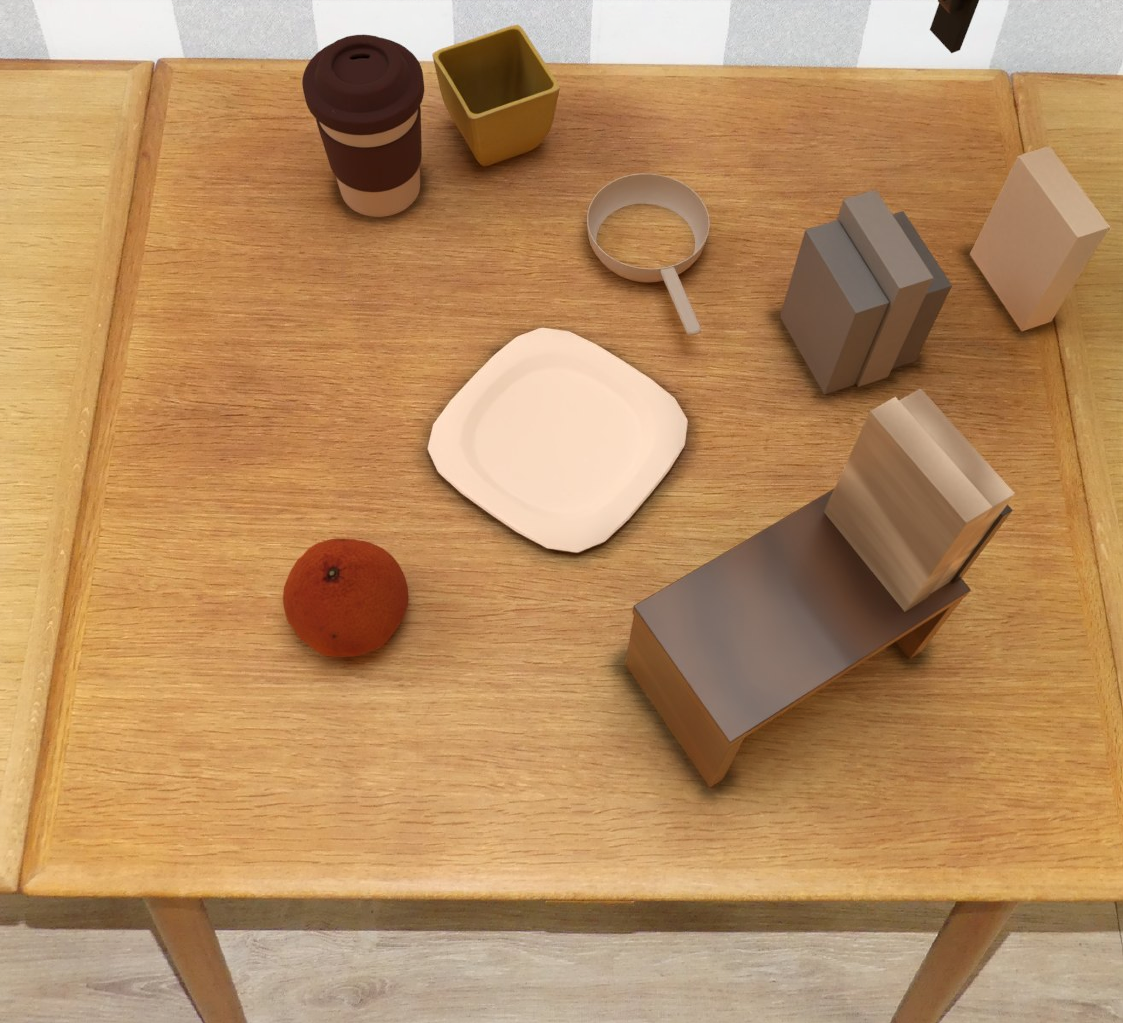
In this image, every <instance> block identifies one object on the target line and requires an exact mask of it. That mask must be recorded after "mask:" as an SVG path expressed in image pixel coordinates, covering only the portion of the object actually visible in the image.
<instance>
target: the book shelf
mask: <svg viewBox="0 0 1123 1023" xmlns="http://www.w3.org/2000/svg"><path fill="white" fill-rule="evenodd" d="M1015 495H1016V493H1015V492H1014V491H1013V489H1012V488H1011V487H1010V486H1009V485H1008V483H1006V482H1005V480H1004V479H1003V478H1002V477H1001V476H1000V475H999V474H998V472H997V471H996V470H995V469H994V468H993V467H992V466H991V465H990V464H989V462H988V461H987V460H986V458H984V457H983V456H982V455H981V453H980V452H979V451H978V450H977V449H976V448H975V447H974V446H973V445H972V444H971V442H970V441H969V440H968V439H967V438H966V436H964V434H963V433H962V432H961V431H960V430H959V429H958V428H957V427H956V425H954V423H953V422H952V421H951V420H950V419H949V418H948V416H946V414H945V413H944V412H943V411H942V410H941V409H940V408H939V406H938V405H937V404H936V403H935V402H934V401H933V399H931V398H930V396H928V394H927V393H926V392H925V391H924V390H923V388H918V389H916V390H915V391H912V392H911V393H909V394H907V395H905V396H904V397H902V398H900V399H898V398H897V396H894V397H892V398H890V399H889V400H887V401H885V402H883V403H881V404H880V405H878V406H876V407H874V408H873V409H870V410H869V412H868V414H867V416H866V419H865V420H864V423H863V425H862V428H861V429H860V432H859V434H858V436H857V438H856V441H855V442H854V445H853V447H852V450H851V451H850V454H849V456H848V458H847V461H846V462H845V465H844V467H843V469H842V471H841V474H840V475H839V478H838V480H837V482H836V484H835V487H834V488H833V489H830V490H829V491H827V492H825V493H823V494H821V495H820V496H819V497H817V498H816V499H813V500H812V501H810V502H809V503H807V504H805V505H804V506H801V507H800V508H798V509H797V510H795V511H793V512H791V513H789V514H788V515H786V516H785V517H783V518H781V519H779V520H778V521H776V522H775V523H773V524H771V525H769V526H768V527H766V528H764V529H762V530H761V531H759V532H757V533H756V534H754V535H752V536H750V537H748V538H747V539H746V540H744V541H742V542H740V543H738V544H736V545H735V546H734V547H731V548H730V549H728V550H726V551H724V552H723V553H721V554H720V555H718V556H716V557H714V558H713V559H711V560H709V561H708V562H706V563H704V564H703V565H701V566H699V567H697V568H696V569H694V570H691V572H688V573H687V574H686V575H683V576H682V577H681V578H679V579H677V580H675V581H673V582H672V583H670V584H668V585H667V586H665V587H664V588H662V589H659V590H658V591H656V592H654V593H653V594H651V595H650V596H648V597H646V598H645V599H642V600H641V601H640V602H637V603H635V604H634V605H632V606H633V607H632V615H633V617H632V623H631V628H630V634H629V640H628V644H627V650H626V656H625V661H624V665H625V666H626V668H627V669H628V672H630V674H631V675H632V677H633V679H634V680H635V681H636V683H637V684H638V685H639V687H640V688H641V690H642V692H643V693H644V694H645V696H646V697H647V699H648V700H649V701H650V703H651V705H652V706H653V707H654V709H655V710H656V712H657V714H658V715H659V716H660V717H661V719H662V720H663V722H664V723H665V725H666V726H667V728H668V729H669V731H670V732H671V734H672V735H673V736H674V737H675V739H676V741H677V742H678V744H679V745H680V746H681V748H682V749H683V751H684V752H685V754H686V755H687V757H688V759H689V760H690V761H691V763H692V764H693V766H694V767H695V769H696V770H697V771H698V773H699V774H700V776H701V777H702V779H703V780H704V783H706V785H707V787H709V788H712V787H714V786H715V785H716V784H718V783H720V782H721V781H723V780H724V778H725V776H726V774H727V772H728V771H729V769H730V767H731V765H732V763H733V762H734V759H735V758H736V755H737V753H738V751H739V750H740V747H741V746H742V744H743V741H744V740H745V738H746V737H748V736H750V735H751V734H752V733H754V732H756V731H757V730H759V729H761V728H762V727H764V726H765V725H767V724H768V723H770V722H771V721H773V720H774V719H776V718H778V717H779V716H781V715H782V714H784V713H785V712H787V711H789V710H790V709H792V708H793V707H794V706H795V707H796V705H798V704H799V703H801V702H803V701H804V700H806V699H807V698H809V697H811V696H812V695H814V694H816V693H818V692H819V691H820V690H822V689H823V688H825V687H826V686H828V685H830V684H831V683H833V682H834V681H836V680H838V679H839V678H841V677H842V676H844V675H846V674H847V673H849V672H850V671H851V670H853V669H855V668H856V667H858V666H859V665H861V664H863V663H864V662H865V661H867V660H869V659H870V658H872V657H873V656H875V655H876V654H879V652H882V651H883V650H884V649H886V648H887V647H889V646H891V645H892V644H894V643H896V644H897V646H898V647H899V648H900V649H901V651H902V652H903V653H904V655H906V657H907V658H908V659H909V660H911V659H912V658H914V657H915V656H917V655H919V654H920V653H921V652H923V650H924V649H925V648H926V647H927V646H928V644H929V643H930V642H931V640H932V639H933V638H934V636H935V635H936V634H937V632H939V630H940V629H941V628H942V626H943V625H944V624H945V622H946V621H947V620H948V619H949V617H950V616H951V615H952V614H953V612H954V611H955V610H956V608H957V607H958V606H959V605H960V603H962V601H963V600H964V599H965V598H966V597H967V596H968V595H969V593H970V592H971V588H970V587H969V586H968V584H967V583H966V582H965V581H964V579H963V578H964V576H965V574H966V573H967V572H968V570H970V568H971V566H972V565H973V564H974V562H975V561H976V560H977V558H979V556H980V555H981V553H982V552H983V551H984V549H985V548H986V547H987V545H988V544H989V543H990V541H991V540H992V538H993V537H994V536H995V535H996V533H997V532H998V531H999V529H1000V528H1001V527H1002V525H1003V524H1004V523H1005V522H1006V520H1007V519H1008V517H1009V516H1010V515H1011V513H1012V512H1013V509H1012V507H1011V506H1010V505H1009V503H1010V502H1011V500H1012V499H1013V498H1014V497H1015Z"/></svg>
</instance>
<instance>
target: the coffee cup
mask: <svg viewBox="0 0 1123 1023" xmlns="http://www.w3.org/2000/svg"><path fill="white" fill-rule="evenodd" d="M424 80H425V79H424V71H423V69H422V65H421V63H420V61H419V59H418V58H417V57H416V55H414V54H413V52H412V51H410V50H409V49H408V48H407V47H405V46H404V45H402V44H401V43H398V42H396V41H394V40H392V39H388V38H384V37H379V36H377V35H372V34H354V35H348V36H345V37H342V38H340V39H338V40H336V41H334V42H332V43H330V44H328V45H326V46H324V48H322V49H321V50H319V51H318V52H317V53H315V55H314V56H313V57H312V58H311V59H310V60H309V62H308V63H307V65H306V66H305V69H304V71H303V73H302V81H301V82H302V84H301V85H302V91H303V96H304V100H305V101H304V102H305V104H306V107H307V109H308V110H309V112H310V114H311V115H312V116H313V117H314V118H315V121H316V125H317V129H318V132H319V136H320V138H321V141H322V144H323V148H324V152H325V154H326V157H327V160H328V163H329V166H330V169H331V172H332V173H333V175H334V176H335V178H336V182H337V185H338V189H339V192H340V194H341V198H342V199H343V201H344V202H345V204H346V205H347V206H348V207H349V208H350V209H351V210H353V211H355V212H356V213H358V214H360V215H363V216H368V217H374V218H383V217H390V216H393V215H397V214H399V213H402V212H403V211H405V210H406V209H408V208H409V207H410V206H411V205H412V204H413V203H414V202H415V201H416V199H417V197H418V195H419V193H420V189H421V172H420V171H421V166H420V165H421V162H422V157H423V156H422V155H423V153H422V152H423V151H422V150H423V149H422V109H421V105H422V102H423V99H424V96H425V81H424Z"/></svg>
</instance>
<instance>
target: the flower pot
mask: <svg viewBox="0 0 1123 1023" xmlns="http://www.w3.org/2000/svg"><path fill="white" fill-rule="evenodd" d="M431 55H432V60H433V63H434V69H435V73H436V74H435V75H436V79H437V81H438V86H439V90H440V95H441V98H442V101H443V103H444V105H445V108H446V110H447V113H448V114H449V115H450V117H451V119H452V121H453V122H454V124H455V126H456V127H457V129H458V130H459V132H460V134H461V136H462V137H463V139H464V141H465V142H466V144H467V146H468V148H469V149H470V151H471V153H472V155H473V157H474V158H475V160H476V161H477V162H478V163H479V165H480V166H482V167H490V166H492V165H494V164H495V165H496V164H498V163H500V162H503V161H506V160H509V159H512V158H514V157H517V156H521V155H523V154H527V153H529V152H531V151H534V150H535V149H536V148H538V146H540V145H541V143H542V142H543V141H544V140H545V139H546V137H547V136H548V134H549V132H550V130H551V129H552V126H553V122H554V119H555V113H556V108H557V103H558V98H559V95H560V94H559V93H560V89H561V87H560V86H561V85H560V84H559V82H558V80H557V79H556V77H555V75H554V74H553V72H552V71H551V69H550V68H549V66H548V65H547V63H546V62H545V61H544V59H543V57H542V56H541V55H540V52H538V50H537V48H536V46H535V45H534V44H533V42H532V41H531V39H530V37H529V36H528V34H527V33H526V31H525V30H524V28H523V27H522V26H520V25H519V24H513V25H510V26H506V27H503V28H500V29H498V30H495V31H491V32H489V33H486V34H483V35H480V36H476V37H474V38H471V39H467V40H465V41H461V42H459V43H455V44H451V45H449V46H446V47H441V48H440V49H438V50H436V51H434V52H433V53H432V54H431Z"/></svg>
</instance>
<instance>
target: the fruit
mask: <svg viewBox="0 0 1123 1023" xmlns="http://www.w3.org/2000/svg"><path fill="white" fill-rule="evenodd" d="M282 604H283V610H284V614H285V617H286V620H287V622H288V624H289V625H290V627H291V629H292V630H293V632H294V633H295V635H296V636H297V638H299V640H300V641H302V642H303V643H305V644H306V645H308V646H309V647H310V648H311V649H312V650H314V651H315V652H317V653H318V654H320V655H323V656H326V657H328V658H329V657H330V658H345V657H359V656H363V655H365V654H367V653H370V652H373V651H375V650H378V649H380V648H381V647H383V646H384V645H385V644H386V643H387V642H388V641H389V640H390V639H391V637H392V636H393V634H395V633H396V631H397V630H398V628H399V626H400V624H401V622H402V620H403V619H404V617H405V615H406V612H407V610H408V606H409V587H408V583H407V578H406V575H405V573H404V571H403V569H402V568H401V566H400V564H399V562H398V561H397V559H395V557H394V556H393V555H392V554H391V553H390V552H389V551H387V550H386V549H385V548H383V547H381V546H379V545H377V544H375V543H372V542H369V541H366V540H359V539H354V538H345V537H344V538H339V537H337V538H336V537H335V538H330V539H327V540H324V541H323V540H322V541H320V542H317V543H315V544H313V545H312V546H310V547H308V548H307V549H306V551H305V552H304V553H303V554H302V555H301V556H300V557H299V558H297V560H296V562H295V564H294V565H292V567H291V569H290V571H289V573H288V575H287V578H286V581H285V584H284V586H283V592H282Z"/></svg>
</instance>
